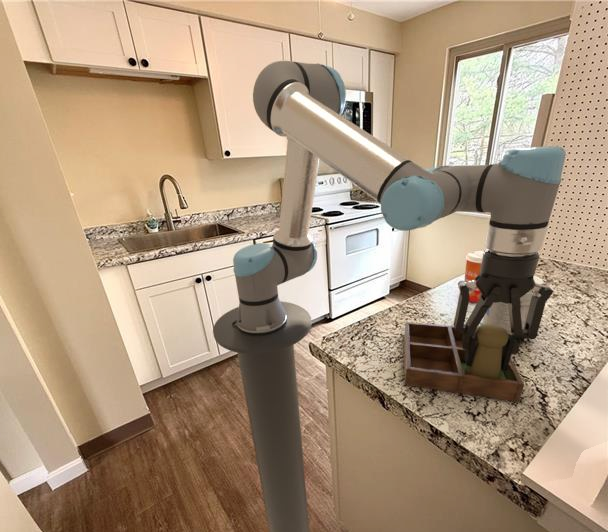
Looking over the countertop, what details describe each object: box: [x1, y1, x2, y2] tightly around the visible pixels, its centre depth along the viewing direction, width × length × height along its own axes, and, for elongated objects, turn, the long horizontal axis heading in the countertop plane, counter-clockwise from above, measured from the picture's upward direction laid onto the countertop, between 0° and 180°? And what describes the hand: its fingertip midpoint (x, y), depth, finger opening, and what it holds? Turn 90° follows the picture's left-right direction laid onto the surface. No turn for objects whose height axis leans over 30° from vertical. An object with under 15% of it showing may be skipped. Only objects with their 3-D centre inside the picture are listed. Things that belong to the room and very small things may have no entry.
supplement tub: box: [481, 275, 545, 341], centre depth 73 cm, size 10×10×15 cm
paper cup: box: [463, 250, 485, 304], centre depth 91 cm, size 8×8×14 cm
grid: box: [403, 321, 525, 403], centre depth 67 cm, size 19×19×4 cm
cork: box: [465, 324, 509, 379], centre depth 60 cm, size 6×6×11 cm
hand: (484, 363), depth 61 cm, fingers closed on cork, 5 cm apart
